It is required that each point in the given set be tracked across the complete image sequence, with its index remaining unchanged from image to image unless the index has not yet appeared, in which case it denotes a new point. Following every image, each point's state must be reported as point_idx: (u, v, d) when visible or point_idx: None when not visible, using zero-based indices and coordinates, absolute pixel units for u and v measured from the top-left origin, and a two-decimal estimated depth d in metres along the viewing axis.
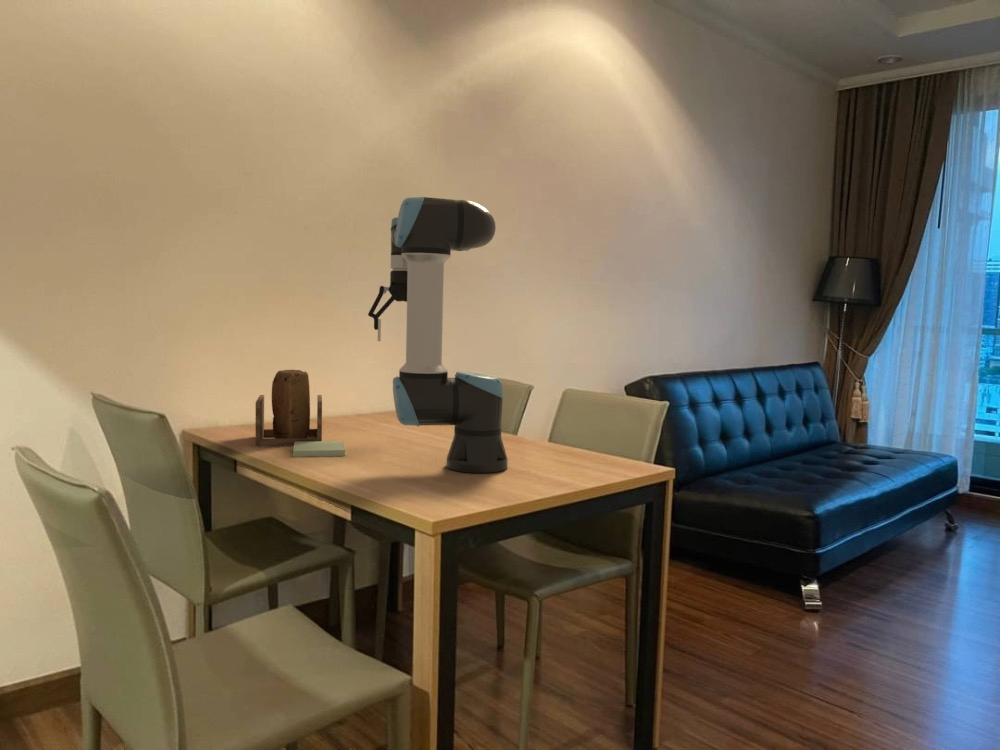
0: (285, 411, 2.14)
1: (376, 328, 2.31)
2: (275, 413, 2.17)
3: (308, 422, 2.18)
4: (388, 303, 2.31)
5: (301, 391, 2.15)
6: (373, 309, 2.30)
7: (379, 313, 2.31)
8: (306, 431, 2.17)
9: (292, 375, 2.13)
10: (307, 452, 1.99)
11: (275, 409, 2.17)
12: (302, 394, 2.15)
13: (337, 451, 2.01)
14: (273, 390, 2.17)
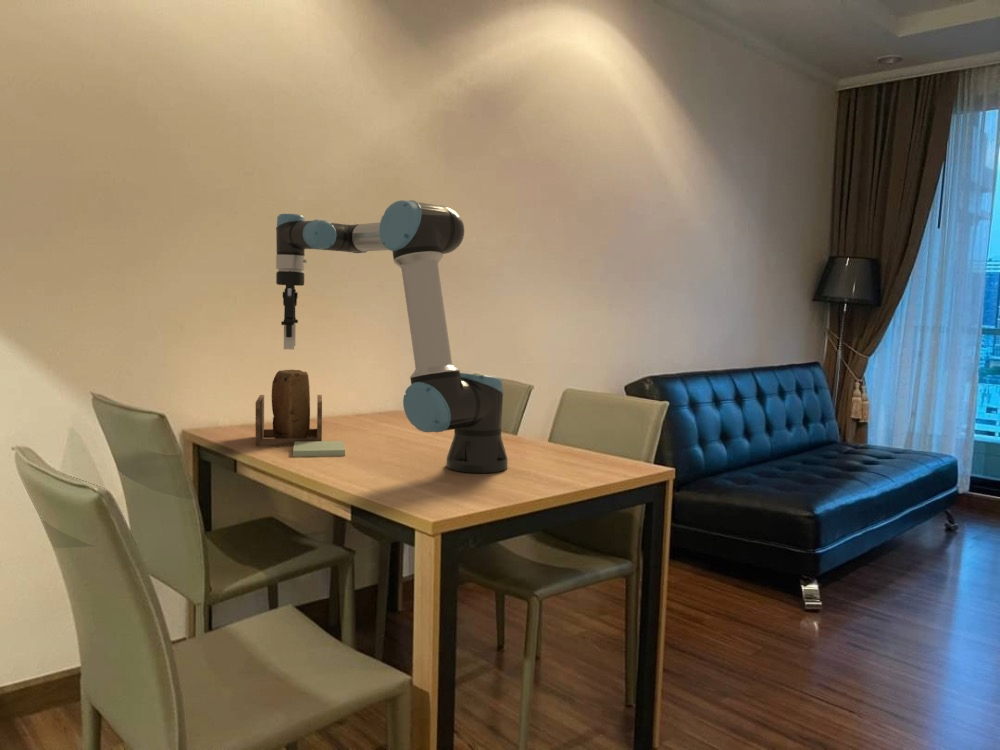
0: (285, 411, 2.14)
1: None
2: (275, 413, 2.17)
3: (308, 422, 2.18)
4: None
5: (301, 391, 2.15)
6: None
7: None
8: (306, 431, 2.17)
9: (292, 375, 2.13)
10: (307, 452, 1.99)
11: (275, 409, 2.17)
12: (302, 394, 2.15)
13: (337, 451, 2.01)
14: (273, 390, 2.17)
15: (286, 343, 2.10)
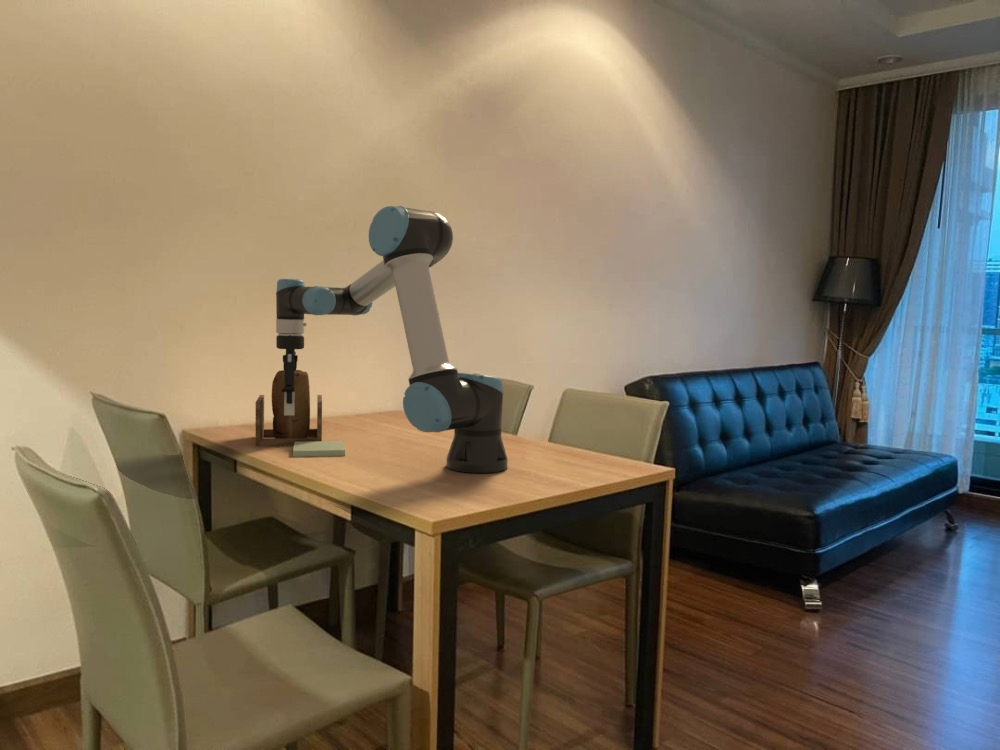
0: None
1: None
2: (275, 413, 2.17)
3: (308, 422, 2.18)
4: None
5: (301, 391, 2.15)
6: None
7: None
8: (306, 431, 2.18)
9: None
10: (307, 452, 1.99)
11: (275, 408, 2.17)
12: (302, 394, 2.15)
13: (337, 451, 2.01)
14: (273, 390, 2.18)
15: (286, 409, 2.12)
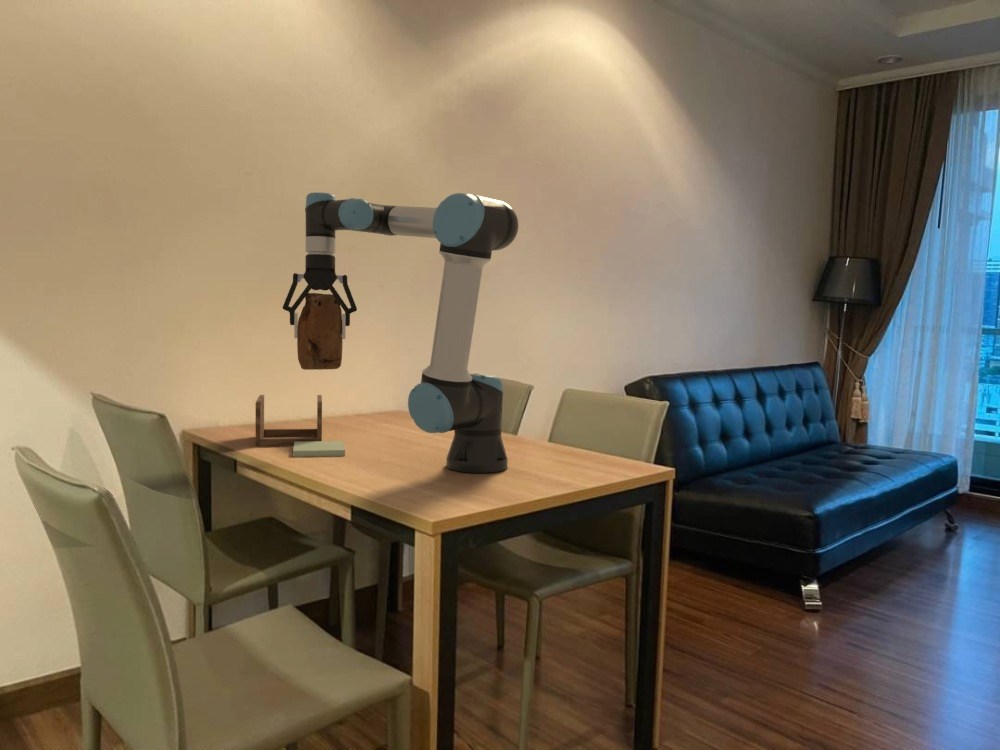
0: (338, 335, 2.03)
1: (292, 323, 2.00)
2: (322, 340, 1.99)
3: None
4: (304, 293, 2.00)
5: None
6: (288, 301, 1.99)
7: (295, 305, 2.00)
8: None
9: None
10: (307, 452, 1.99)
11: (322, 335, 1.99)
12: None
13: (337, 451, 2.01)
14: (318, 315, 1.98)
15: None
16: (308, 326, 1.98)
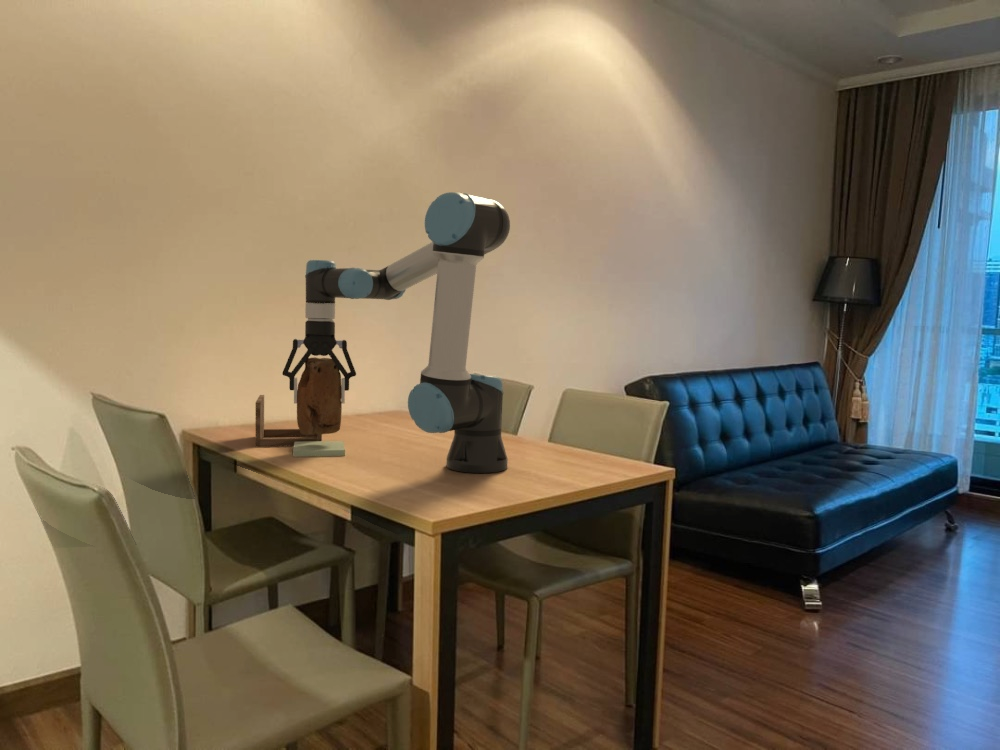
0: (337, 400, 2.05)
1: (292, 388, 2.02)
2: (322, 405, 2.01)
3: None
4: (304, 359, 2.02)
5: None
6: (287, 367, 2.01)
7: (295, 371, 2.01)
8: None
9: None
10: (307, 452, 1.99)
11: (321, 401, 2.01)
12: None
13: (337, 451, 2.01)
14: (317, 381, 2.00)
15: None
16: (307, 392, 1.99)
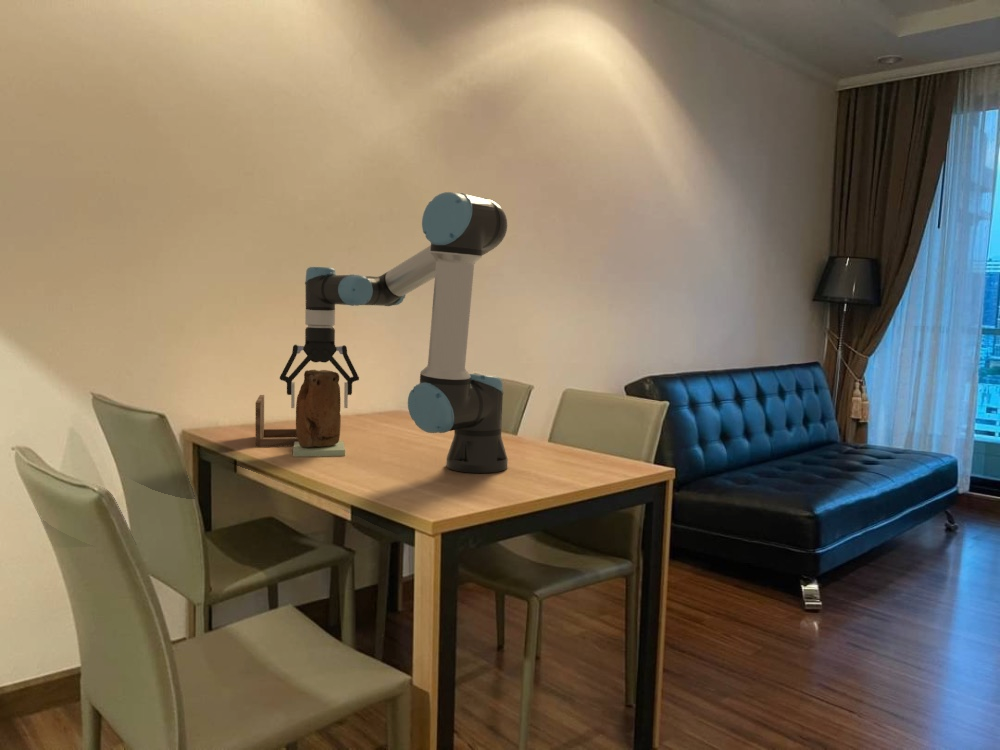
0: (336, 412, 2.05)
1: (289, 393, 2.02)
2: (321, 418, 2.01)
3: None
4: (303, 365, 2.02)
5: None
6: (285, 372, 2.01)
7: (292, 376, 2.01)
8: None
9: None
10: (307, 452, 1.99)
11: (320, 413, 2.01)
12: None
13: (337, 451, 2.01)
14: (317, 394, 2.00)
15: None
16: (306, 405, 2.00)
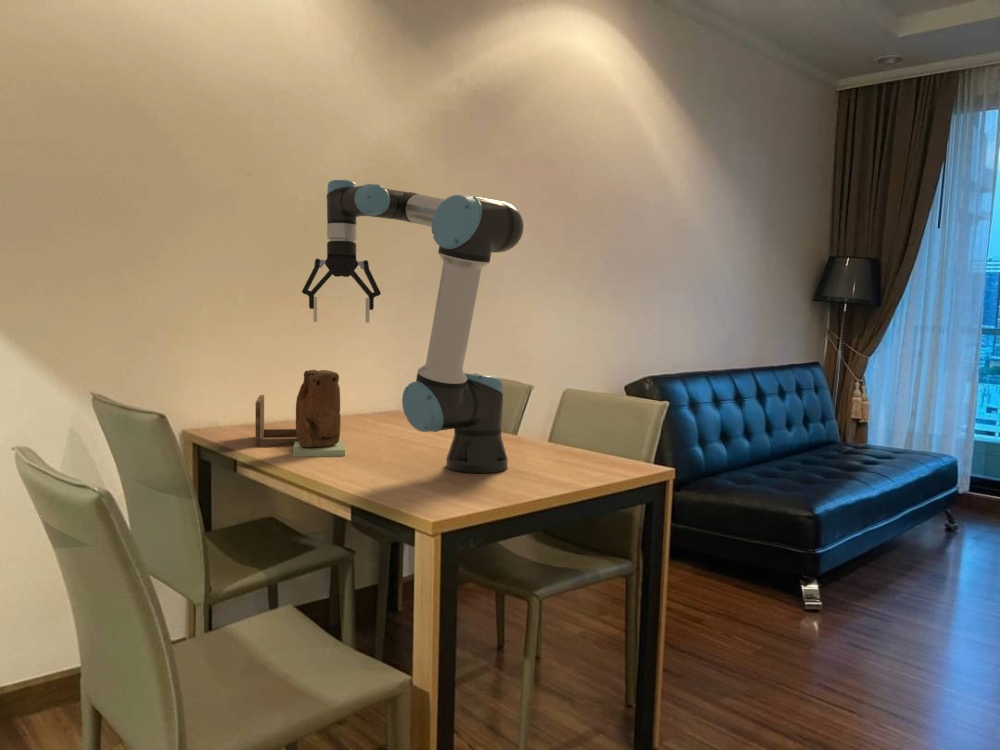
0: (336, 412, 2.05)
1: (312, 307, 2.03)
2: (321, 418, 2.01)
3: None
4: (325, 278, 2.02)
5: None
6: (308, 285, 2.01)
7: (315, 290, 2.02)
8: None
9: None
10: (307, 452, 1.99)
11: (320, 413, 2.01)
12: None
13: (337, 451, 2.01)
14: (316, 394, 2.00)
15: None
16: (306, 405, 2.00)
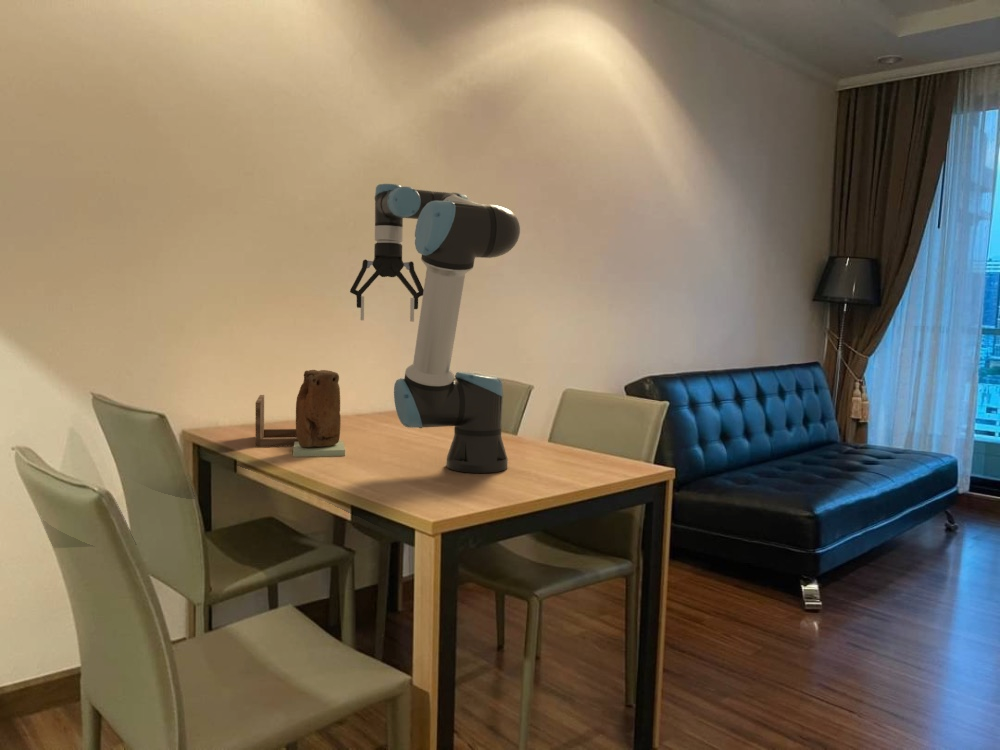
0: (336, 412, 2.05)
1: (359, 306, 2.11)
2: (321, 418, 2.01)
3: None
4: (372, 278, 2.10)
5: None
6: (356, 285, 2.09)
7: (362, 289, 2.10)
8: None
9: None
10: (307, 452, 1.99)
11: (320, 413, 2.01)
12: None
13: (337, 451, 2.01)
14: (316, 394, 2.00)
15: (413, 315, 2.14)
16: (306, 405, 2.00)
